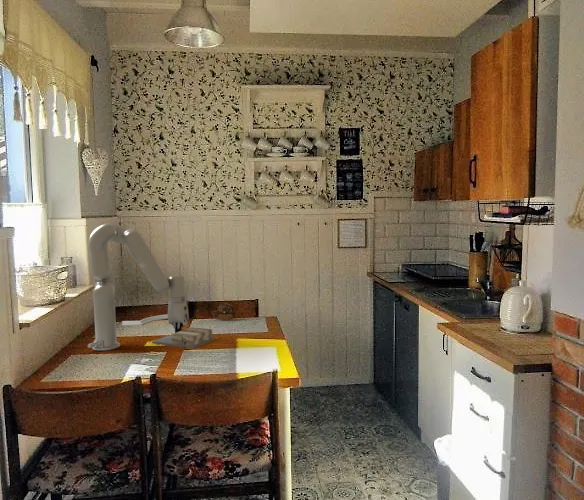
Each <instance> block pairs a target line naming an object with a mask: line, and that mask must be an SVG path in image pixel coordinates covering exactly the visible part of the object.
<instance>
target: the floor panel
mask: <svg viewBox="0 0 584 500" xmlns="http://www.w3.org/2000/svg"><path fill="white" fill-rule="evenodd" d="M172 334H173V333H172ZM172 334H169V335H167V336H164V337H160V338H158V339H155V340H152V341H151V344H152V343H154V344H155V345H160V344H162V346H168V345H171V347H176V346H178V347H177V348H184V347H185V349H186V348H188V349H196V348H198V347H201V346H203V345H206V344H208V343H210V342H212V341H214V340H215V339H216V337H214V336H212V338H211V339H208V340H206V341H203V342H201V343H199V344H196V345H194V346H190V345H186V344H185V345H182V344H173V343H172Z"/></svg>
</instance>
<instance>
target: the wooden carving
mask: <svg viewBox="0 0 584 500" xmlns="http://www.w3.org/2000/svg"><path fill="white" fill-rule="evenodd" d="M216 308H217V310H213V311H211V312H210V313H211V315H212V317H213V319H219V320H221V321H230V320H232V319H235V318H236V316H235V314H238V312H237V311H235V310H234V309H235V306H234V304H230V303H226V302H225V303H220V304H217V307H216Z"/></svg>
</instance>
